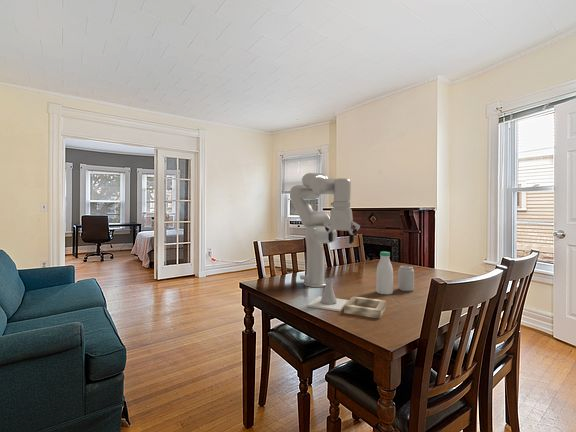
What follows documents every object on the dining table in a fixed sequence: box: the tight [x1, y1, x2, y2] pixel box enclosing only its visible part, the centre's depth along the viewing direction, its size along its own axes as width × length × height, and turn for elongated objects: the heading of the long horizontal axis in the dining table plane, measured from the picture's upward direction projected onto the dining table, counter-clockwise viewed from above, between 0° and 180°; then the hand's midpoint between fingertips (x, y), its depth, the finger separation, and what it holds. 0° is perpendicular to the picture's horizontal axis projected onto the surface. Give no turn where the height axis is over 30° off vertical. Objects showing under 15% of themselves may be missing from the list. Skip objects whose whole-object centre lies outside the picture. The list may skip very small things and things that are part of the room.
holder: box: [343, 296, 387, 320], centre depth 126 cm, size 14×14×3 cm
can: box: [397, 265, 415, 292], centre depth 156 cm, size 8×8×12 cm
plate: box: [307, 295, 350, 312], centre depth 134 cm, size 14×14×1 cm
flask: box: [320, 278, 337, 304], centre depth 134 cm, size 7×7×10 cm
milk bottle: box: [375, 251, 394, 295], centre depth 151 cm, size 8×8×20 cm
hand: (340, 242), depth 143 cm, fingers open, 9 cm apart
